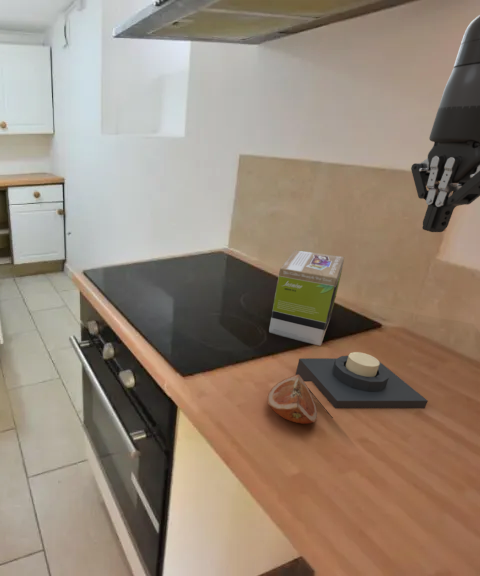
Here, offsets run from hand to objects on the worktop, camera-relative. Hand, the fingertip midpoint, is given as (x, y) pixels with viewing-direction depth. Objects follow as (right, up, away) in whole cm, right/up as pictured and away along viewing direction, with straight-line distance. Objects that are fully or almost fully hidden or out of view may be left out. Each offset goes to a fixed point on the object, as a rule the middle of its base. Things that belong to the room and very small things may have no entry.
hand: (432, 230), depth 57 cm
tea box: (-7, -17, +24) cm, 31 cm away
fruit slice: (-23, -28, -1) cm, 36 cm away
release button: (-10, -21, +1) cm, 24 cm away
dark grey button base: (-10, -26, +3) cm, 28 cm away
